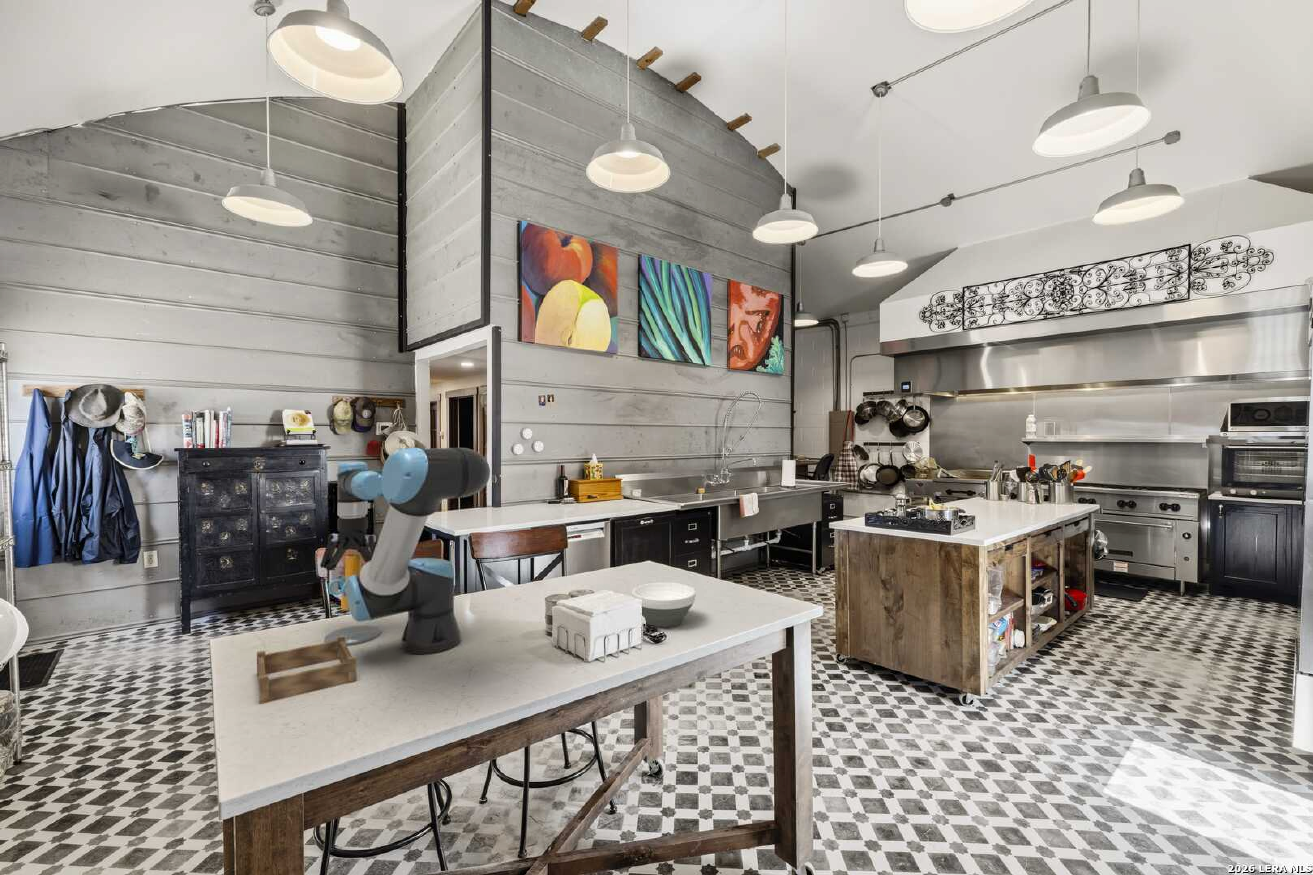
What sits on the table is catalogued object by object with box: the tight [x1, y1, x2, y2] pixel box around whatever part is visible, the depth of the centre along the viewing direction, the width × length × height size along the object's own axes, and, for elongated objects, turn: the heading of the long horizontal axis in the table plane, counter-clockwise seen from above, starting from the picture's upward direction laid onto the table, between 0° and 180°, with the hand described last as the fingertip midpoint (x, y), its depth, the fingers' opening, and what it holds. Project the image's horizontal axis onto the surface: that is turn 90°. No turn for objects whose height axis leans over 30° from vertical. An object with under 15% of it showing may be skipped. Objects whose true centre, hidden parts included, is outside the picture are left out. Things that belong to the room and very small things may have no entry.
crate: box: [256, 635, 357, 705], centre depth 132 cm, size 18×18×5 cm
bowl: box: [631, 582, 697, 628], centre depth 172 cm, size 20×20×10 cm
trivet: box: [324, 625, 381, 647], centre depth 159 cm, size 14×14×1 cm
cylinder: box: [327, 553, 362, 611], centre depth 159 cm, size 12×10×15 cm
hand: (352, 593), depth 159 cm, fingers closed on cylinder, 11 cm apart
